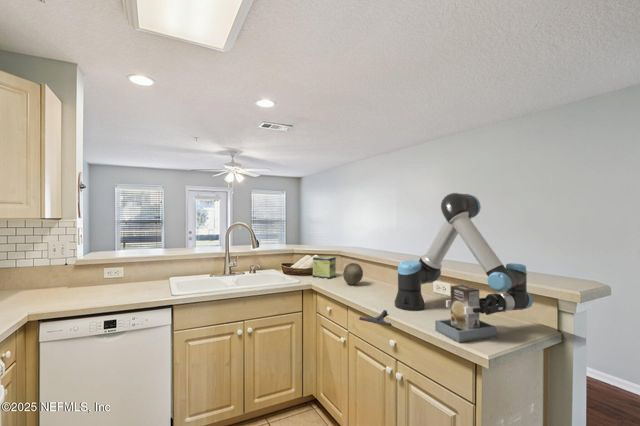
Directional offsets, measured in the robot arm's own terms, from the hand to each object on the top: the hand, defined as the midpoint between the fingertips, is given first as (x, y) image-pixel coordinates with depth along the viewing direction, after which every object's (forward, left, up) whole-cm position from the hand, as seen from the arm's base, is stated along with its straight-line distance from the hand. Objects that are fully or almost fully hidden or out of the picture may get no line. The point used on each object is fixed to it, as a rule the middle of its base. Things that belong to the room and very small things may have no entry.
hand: (455, 307), depth 119 cm
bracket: (-27, -18, -12) cm, 35 cm away
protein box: (-128, -12, -11) cm, 129 cm away
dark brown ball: (-95, -2, -11) cm, 96 cm away
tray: (0, +4, -11) cm, 12 cm away
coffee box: (0, +4, -9) cm, 10 cm away
